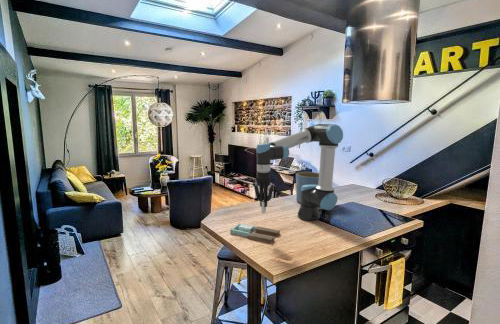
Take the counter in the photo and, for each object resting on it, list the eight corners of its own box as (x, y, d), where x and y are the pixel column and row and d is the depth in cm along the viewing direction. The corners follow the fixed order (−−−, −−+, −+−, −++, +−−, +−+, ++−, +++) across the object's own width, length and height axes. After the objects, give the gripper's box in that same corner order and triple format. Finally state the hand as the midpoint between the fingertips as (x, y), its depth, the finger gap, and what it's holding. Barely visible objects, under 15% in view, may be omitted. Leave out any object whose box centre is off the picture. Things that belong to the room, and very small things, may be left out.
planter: (305, 207, 209) (306, 178, 206) (290, 199, 230) (291, 172, 226) (329, 204, 218) (330, 176, 214) (312, 197, 239) (313, 171, 235)
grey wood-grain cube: (247, 231, 161) (247, 225, 160) (253, 233, 159) (253, 226, 159) (244, 234, 157) (244, 227, 157) (250, 235, 156) (250, 228, 155)
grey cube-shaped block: (241, 230, 163) (241, 224, 162) (247, 231, 161) (247, 225, 160) (238, 232, 159) (238, 226, 158) (244, 234, 157) (244, 227, 157)
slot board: (257, 231, 164) (257, 226, 163) (279, 235, 158) (279, 230, 157) (247, 239, 151) (247, 234, 151) (271, 245, 145) (271, 239, 145)
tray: (239, 228, 167) (239, 223, 167) (256, 231, 162) (256, 226, 162) (230, 234, 158) (230, 229, 157) (248, 238, 152) (248, 233, 152)
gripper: (250, 171, 148) (250, 212, 152) (272, 173, 143) (272, 216, 147) (255, 169, 155) (256, 208, 159) (277, 171, 150) (276, 211, 153)
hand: (263, 212), depth 153 cm, fingers closed
